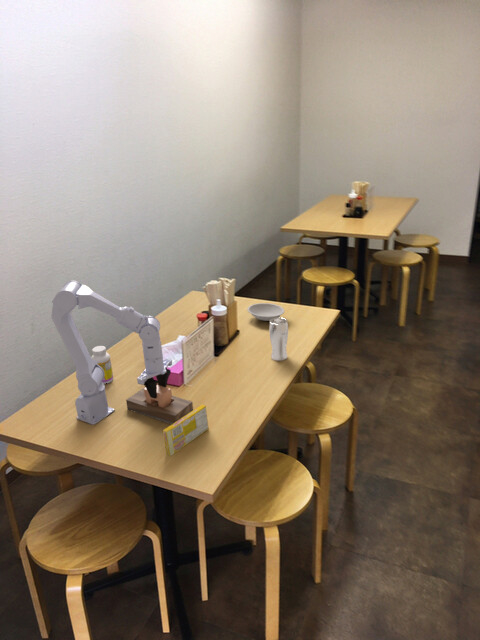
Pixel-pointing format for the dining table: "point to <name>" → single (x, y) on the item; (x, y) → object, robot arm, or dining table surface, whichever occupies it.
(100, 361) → the supplement bottle
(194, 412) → the candy box
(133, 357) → the dining table surface
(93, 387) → the robot arm
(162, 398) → the peach arch block
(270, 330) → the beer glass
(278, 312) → the dish
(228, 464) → the dining table surface
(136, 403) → the slot base
